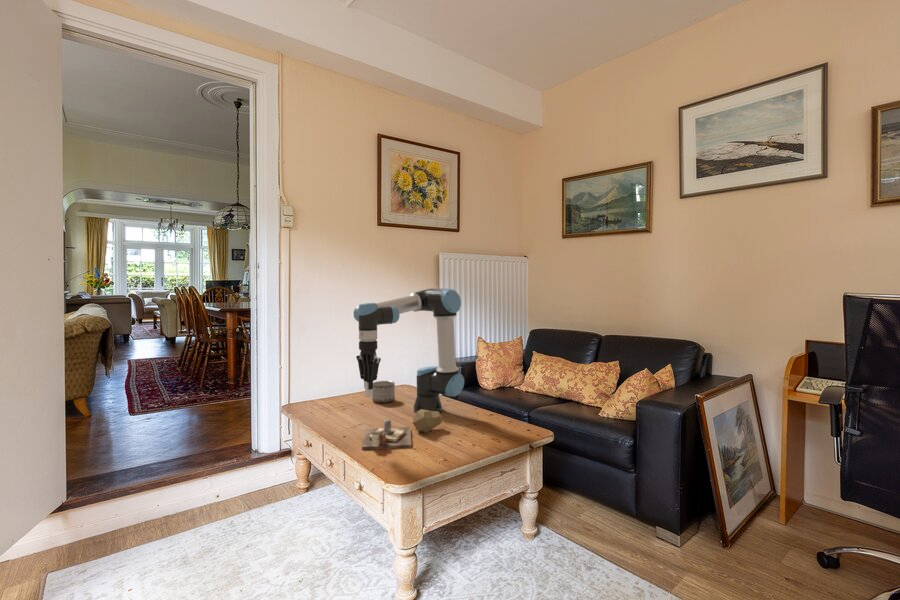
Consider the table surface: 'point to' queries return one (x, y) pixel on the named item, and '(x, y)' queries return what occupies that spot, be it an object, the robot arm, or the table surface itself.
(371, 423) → the table surface
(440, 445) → the table surface
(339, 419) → the table surface
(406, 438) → the post board
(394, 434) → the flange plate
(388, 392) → the planter
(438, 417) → the low-poly potato
